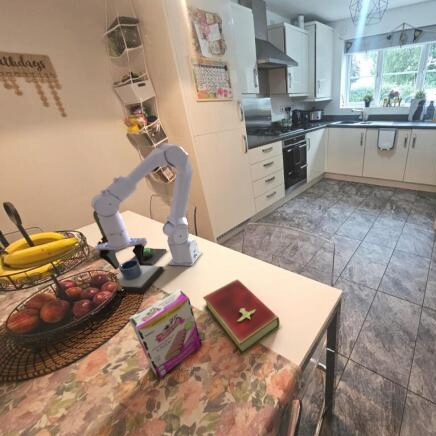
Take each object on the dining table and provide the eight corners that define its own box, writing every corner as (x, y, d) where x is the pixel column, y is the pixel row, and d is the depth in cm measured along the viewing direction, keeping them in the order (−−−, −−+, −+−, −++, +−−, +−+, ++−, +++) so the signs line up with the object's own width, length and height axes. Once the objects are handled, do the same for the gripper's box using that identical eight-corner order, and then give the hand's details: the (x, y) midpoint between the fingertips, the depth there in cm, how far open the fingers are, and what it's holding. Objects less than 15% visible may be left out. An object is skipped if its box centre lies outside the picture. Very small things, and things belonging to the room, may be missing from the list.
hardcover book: (240, 287, 81) (238, 277, 79) (279, 326, 66) (278, 315, 64) (205, 306, 74) (202, 296, 72) (241, 354, 59) (239, 343, 57)
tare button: (152, 250, 98) (150, 247, 97) (147, 255, 95) (146, 251, 95) (145, 250, 98) (143, 247, 98) (140, 254, 96) (139, 251, 95)
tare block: (166, 251, 102) (164, 245, 101) (152, 266, 93) (149, 260, 92) (144, 251, 103) (142, 245, 102) (128, 265, 94) (125, 259, 93)
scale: (164, 270, 91) (162, 265, 90) (143, 293, 80) (141, 287, 79) (129, 269, 92) (127, 263, 91) (104, 291, 81) (101, 286, 80)
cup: (144, 268, 88) (141, 258, 86) (140, 278, 83) (135, 268, 81) (127, 271, 87) (122, 261, 85) (121, 282, 82) (116, 271, 80)
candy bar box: (159, 381, 54) (136, 330, 47) (150, 367, 57) (126, 317, 50) (203, 345, 62) (189, 296, 55) (193, 334, 65) (178, 287, 58)
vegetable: (103, 243, 109) (84, 202, 101) (111, 238, 113) (95, 198, 104) (110, 245, 108) (92, 203, 99) (119, 240, 112) (102, 199, 103)
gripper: (144, 222, 82) (155, 255, 88) (95, 228, 79) (110, 262, 85) (137, 231, 76) (150, 267, 82) (84, 239, 73) (102, 275, 79)
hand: (129, 265), depth 83 cm, fingers open, 7 cm apart
